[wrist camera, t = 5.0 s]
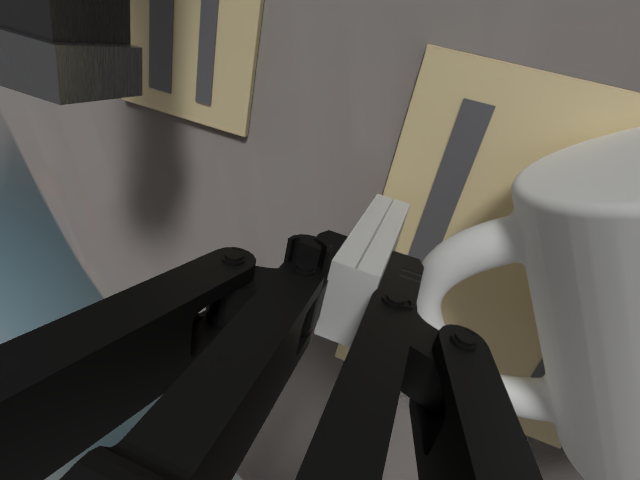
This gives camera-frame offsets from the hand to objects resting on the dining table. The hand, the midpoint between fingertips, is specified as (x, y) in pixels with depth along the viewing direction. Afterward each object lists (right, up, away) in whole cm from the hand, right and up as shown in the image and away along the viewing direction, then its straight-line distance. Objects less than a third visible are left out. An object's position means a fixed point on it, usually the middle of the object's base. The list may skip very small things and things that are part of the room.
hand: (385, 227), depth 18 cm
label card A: (-9, +9, +1) cm, 13 cm away
